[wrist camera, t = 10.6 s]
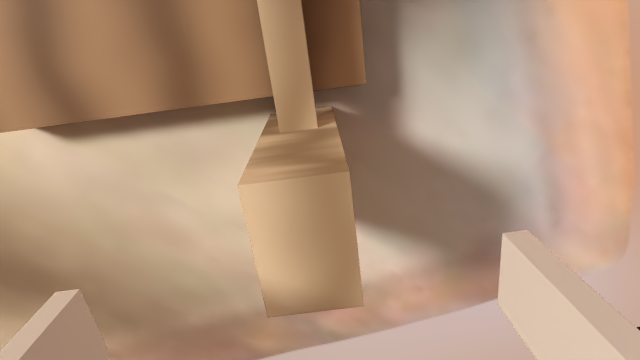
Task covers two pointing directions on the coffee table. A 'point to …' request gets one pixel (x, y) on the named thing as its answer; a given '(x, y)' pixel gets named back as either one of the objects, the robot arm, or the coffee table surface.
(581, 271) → the coffee table surface
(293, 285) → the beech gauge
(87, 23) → the walnut board
